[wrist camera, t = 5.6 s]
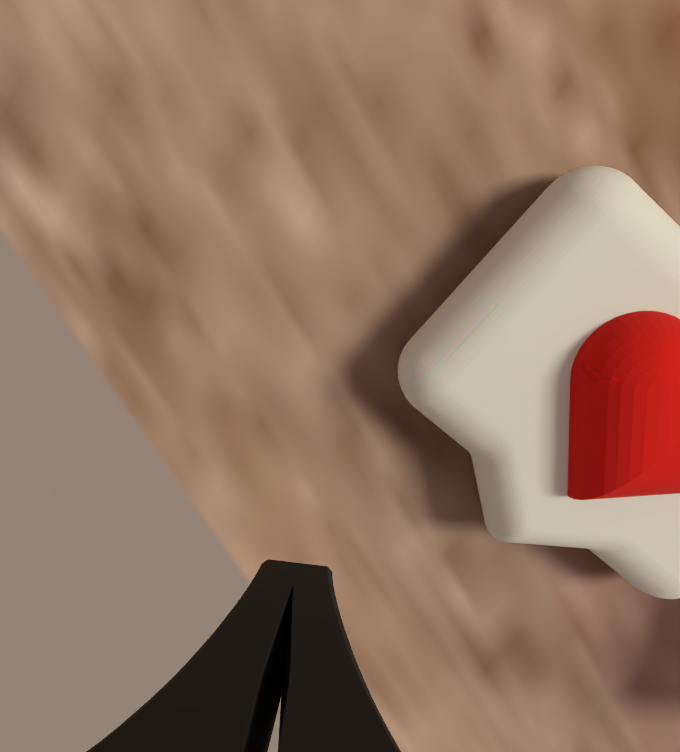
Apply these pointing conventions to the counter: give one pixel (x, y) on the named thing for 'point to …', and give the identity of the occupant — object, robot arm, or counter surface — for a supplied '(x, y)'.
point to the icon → (569, 377)
